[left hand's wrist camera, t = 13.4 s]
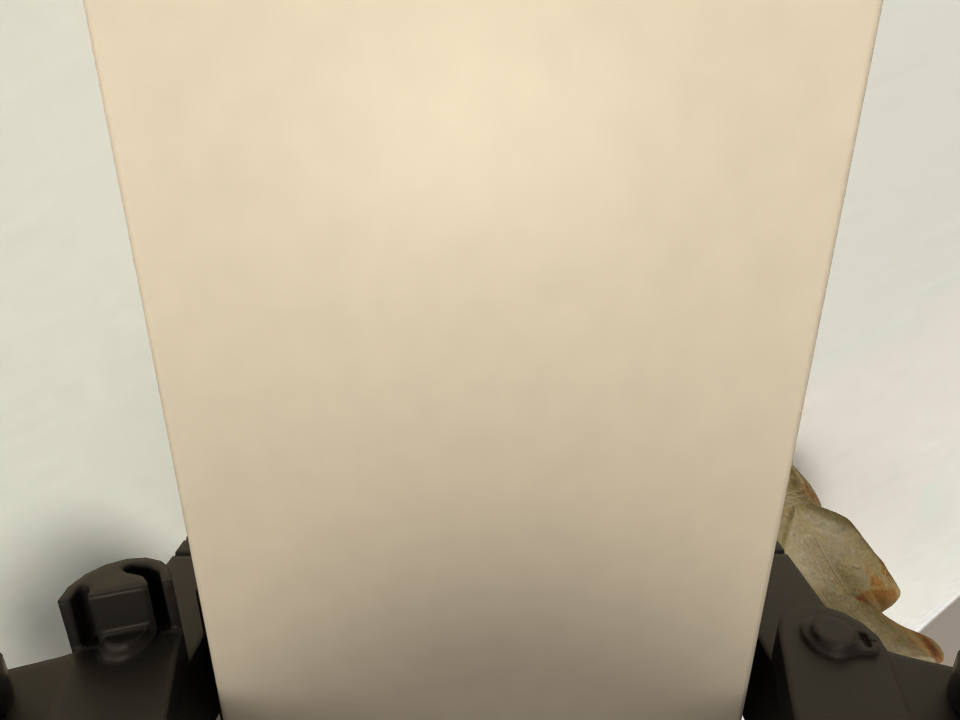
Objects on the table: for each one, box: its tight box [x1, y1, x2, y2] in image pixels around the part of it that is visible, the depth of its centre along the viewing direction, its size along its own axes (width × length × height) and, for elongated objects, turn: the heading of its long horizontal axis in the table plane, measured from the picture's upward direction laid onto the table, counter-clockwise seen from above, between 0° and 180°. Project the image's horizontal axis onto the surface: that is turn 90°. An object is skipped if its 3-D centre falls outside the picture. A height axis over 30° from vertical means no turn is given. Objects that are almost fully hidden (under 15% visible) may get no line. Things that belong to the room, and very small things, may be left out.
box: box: [83, 0, 883, 720], centre depth 9 cm, size 21×6×8 cm, turn 0°
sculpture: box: [777, 465, 944, 664], centre depth 30 cm, size 6×7×15 cm
